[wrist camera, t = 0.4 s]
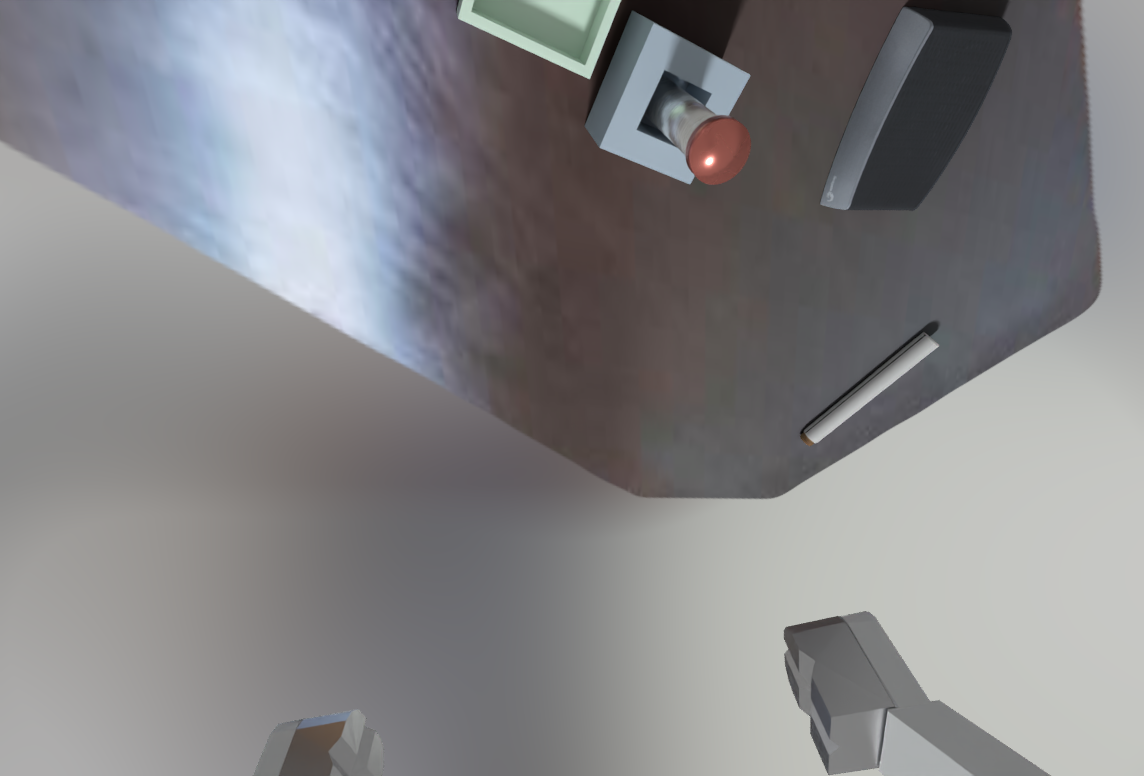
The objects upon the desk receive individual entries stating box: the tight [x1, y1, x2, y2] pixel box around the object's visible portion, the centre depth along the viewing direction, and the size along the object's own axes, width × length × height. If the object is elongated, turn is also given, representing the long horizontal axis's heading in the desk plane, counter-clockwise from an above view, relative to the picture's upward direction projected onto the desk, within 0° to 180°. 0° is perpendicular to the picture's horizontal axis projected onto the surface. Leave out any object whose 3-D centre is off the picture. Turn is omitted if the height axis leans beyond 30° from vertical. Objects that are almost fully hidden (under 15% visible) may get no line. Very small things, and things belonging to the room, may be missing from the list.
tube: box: [800, 332, 939, 446], centre depth 88 cm, size 3×3×25 cm
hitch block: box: [585, 10, 751, 184], centre depth 49 cm, size 10×10×6 cm
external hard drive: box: [820, 7, 1012, 211], centre depth 57 cm, size 13×19×4 cm
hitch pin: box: [644, 75, 751, 184], centre depth 45 cm, size 5×5×15 cm
